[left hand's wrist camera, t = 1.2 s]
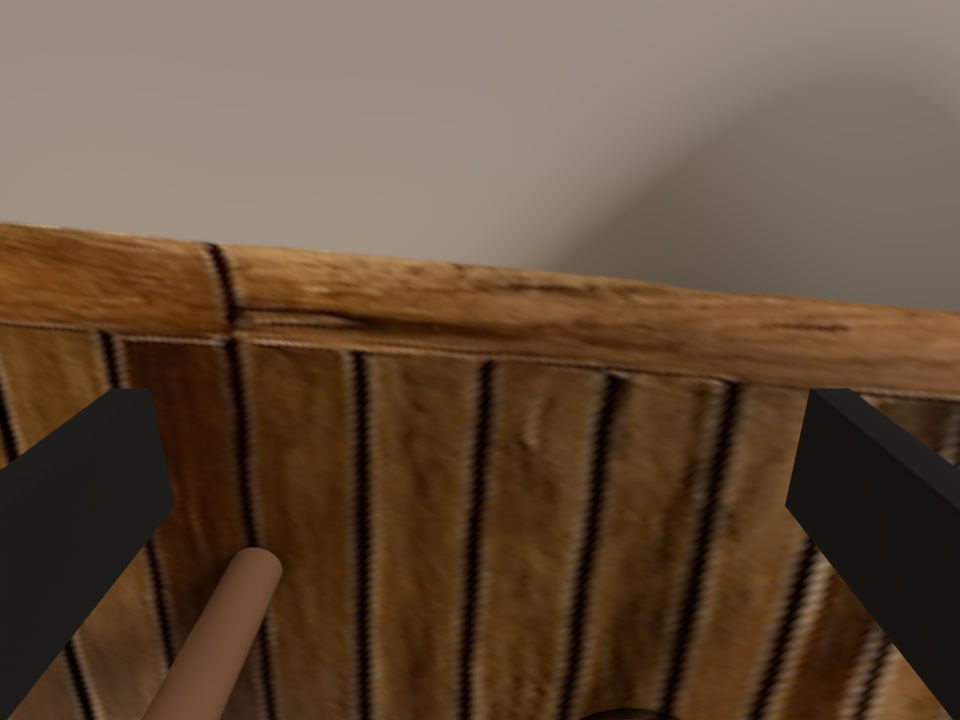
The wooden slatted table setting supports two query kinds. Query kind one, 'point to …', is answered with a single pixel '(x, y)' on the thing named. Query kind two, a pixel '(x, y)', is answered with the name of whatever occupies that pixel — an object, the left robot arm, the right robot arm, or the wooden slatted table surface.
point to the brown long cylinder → (219, 641)
